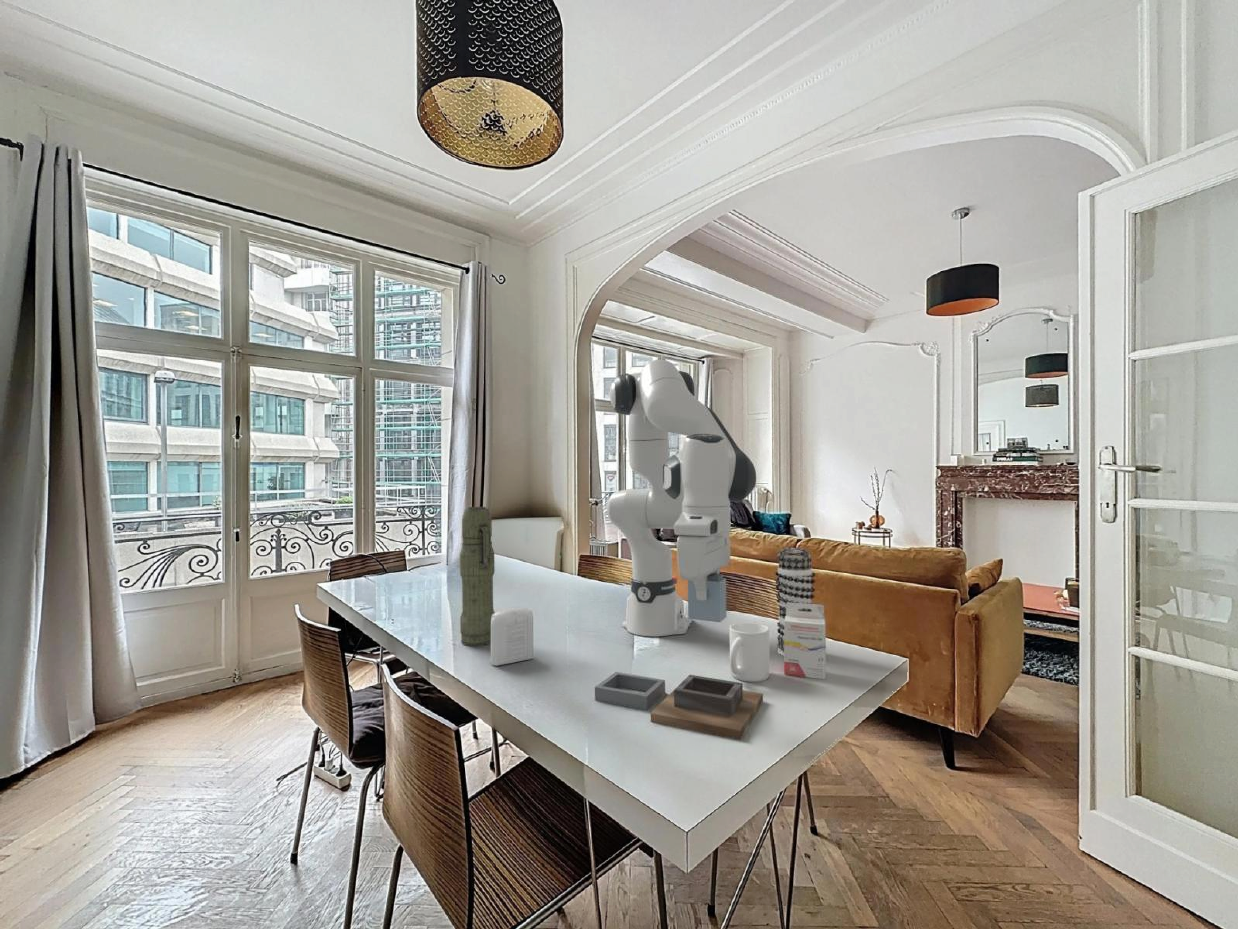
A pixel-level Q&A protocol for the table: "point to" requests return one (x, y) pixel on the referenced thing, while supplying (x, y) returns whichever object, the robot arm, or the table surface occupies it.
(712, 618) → the plug
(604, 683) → the grey rectangular frame
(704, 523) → the robot arm
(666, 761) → the table surface
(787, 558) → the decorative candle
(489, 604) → the thermos
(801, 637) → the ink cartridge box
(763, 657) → the mug
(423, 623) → the table surface
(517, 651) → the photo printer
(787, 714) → the table surface
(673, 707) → the dock
